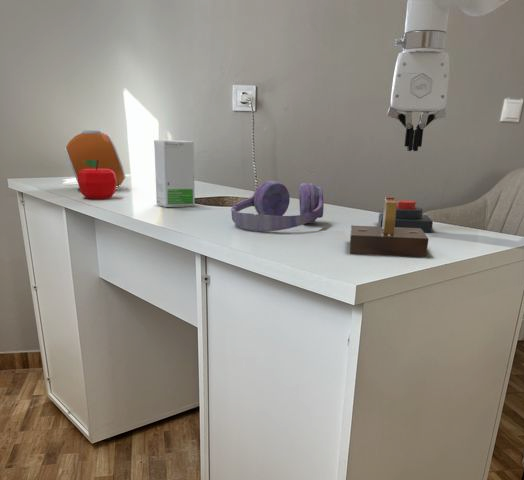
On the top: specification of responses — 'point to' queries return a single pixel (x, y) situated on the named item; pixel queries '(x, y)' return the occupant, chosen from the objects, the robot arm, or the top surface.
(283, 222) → the headphones
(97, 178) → the apple
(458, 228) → the top surface
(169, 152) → the cosmetic box
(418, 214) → the block
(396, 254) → the plate
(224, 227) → the top surface
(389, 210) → the lock knob
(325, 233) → the top surface
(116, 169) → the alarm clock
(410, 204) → the bell button
